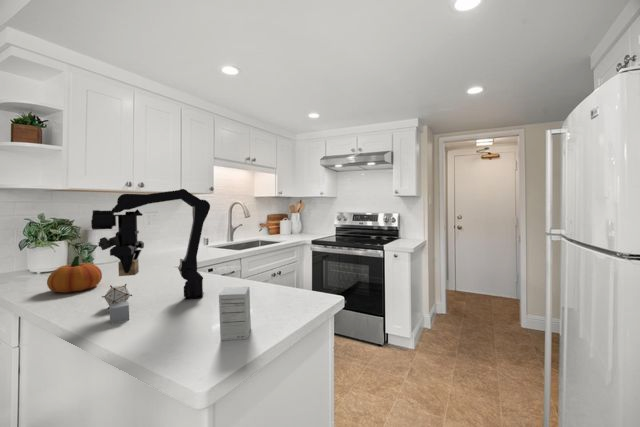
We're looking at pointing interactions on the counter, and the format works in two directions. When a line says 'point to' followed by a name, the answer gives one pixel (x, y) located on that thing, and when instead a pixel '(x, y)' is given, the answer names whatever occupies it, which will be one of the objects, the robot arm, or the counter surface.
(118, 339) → the counter surface
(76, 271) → the pumpkin
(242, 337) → the supplement box
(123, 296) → the game die
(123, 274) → the brown metallic block
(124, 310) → the grey block
